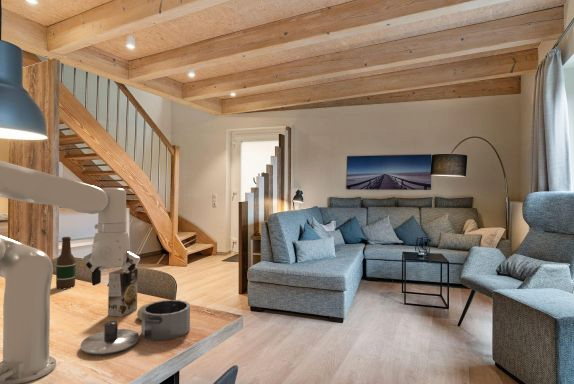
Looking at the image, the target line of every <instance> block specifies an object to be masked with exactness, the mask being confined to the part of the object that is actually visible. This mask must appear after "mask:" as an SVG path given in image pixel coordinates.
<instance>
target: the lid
mask: <svg viewBox="0 0 574 384" xmlns="http://www.w3.org/2000/svg"><path fill="white" fill-rule="evenodd" d="M118 323H119V322H118V321H117V320H109V321H107V322H105V323H104V326H103V327H104V328H103V329H104V331H103V330H102V331H100V332H97V333H93V334H90V335H89V336H87V337H86V338H84V340H82V341H81V343H80V350H81V351H82V352H84V353H85V354H88V355H89V354H90V355H108V354H115V353H118V352H121V351H124V350H127V349H129V348H131V347H133V346H134V345H136V344H137V343H138V341H139V338H140V336H139V335H140V334H139V333H138V332H137V331H135V330H134V329H133V330H132V329H126V328H124V329H123V328H118V327H119V324H118Z"/></svg>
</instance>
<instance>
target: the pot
mask: <svg viewBox="0 0 574 384" xmlns="http://www.w3.org/2000/svg"><path fill="white" fill-rule="evenodd" d="M147 304H148V305H146V304H145V305H146V306H144V307H143V309H142V320H141V336H142V338H143V339H146V340H149V341H154V342H155V341H156V342H162V341H170V340H174V339H178V338H181V337H183V336H185V335H187V334H188V333H189V332H190V330H191V325H190V324H191V320H190V319H191V316H190V315H191V304H190V302H187V301H185V300H181V299H167V300H166V299H164V300H159V301H154V302H151V303H147Z"/></svg>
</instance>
